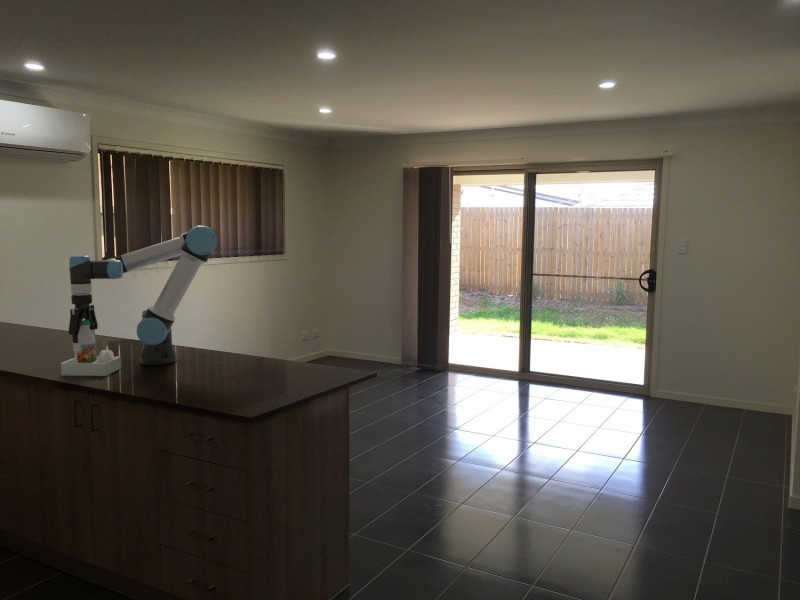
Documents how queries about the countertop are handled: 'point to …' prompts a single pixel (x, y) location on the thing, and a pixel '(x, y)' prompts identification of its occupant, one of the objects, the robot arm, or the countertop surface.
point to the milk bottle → (86, 344)
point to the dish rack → (93, 365)
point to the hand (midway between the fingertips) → (84, 347)
